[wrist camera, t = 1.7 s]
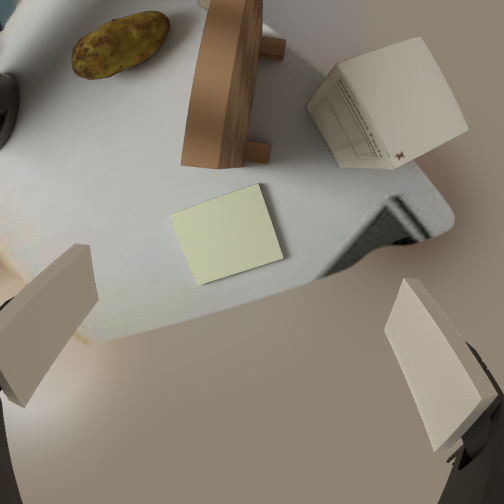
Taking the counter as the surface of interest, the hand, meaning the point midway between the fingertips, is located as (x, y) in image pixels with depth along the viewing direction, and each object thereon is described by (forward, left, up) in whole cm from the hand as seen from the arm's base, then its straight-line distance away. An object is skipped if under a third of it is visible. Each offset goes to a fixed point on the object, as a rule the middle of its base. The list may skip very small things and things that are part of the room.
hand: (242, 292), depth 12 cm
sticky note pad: (+3, -5, -27) cm, 28 cm away
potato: (-26, -9, -27) cm, 39 cm away
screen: (-13, +3, -27) cm, 30 cm away
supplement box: (-6, +15, -27) cm, 32 cm away
